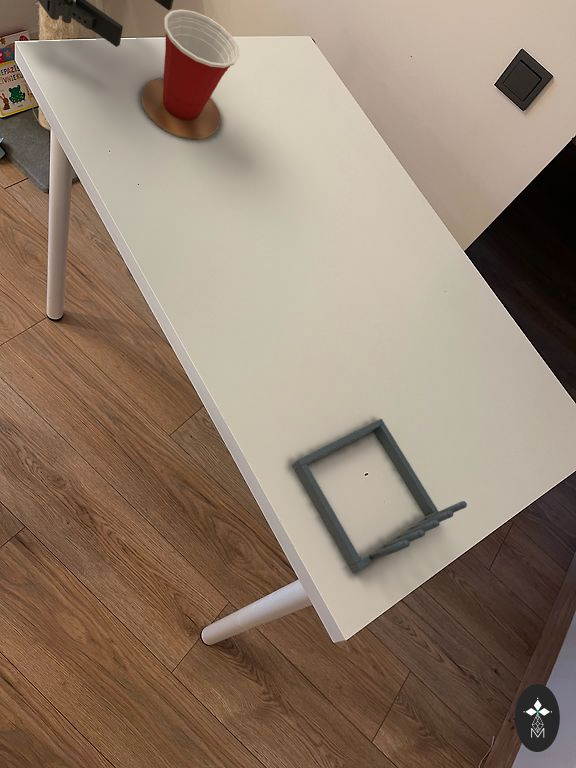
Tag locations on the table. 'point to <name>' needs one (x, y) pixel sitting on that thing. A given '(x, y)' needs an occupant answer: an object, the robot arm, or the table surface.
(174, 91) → the plastic cup
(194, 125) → the wooden coaster
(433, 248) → the table surface
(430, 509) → the grey square frame
